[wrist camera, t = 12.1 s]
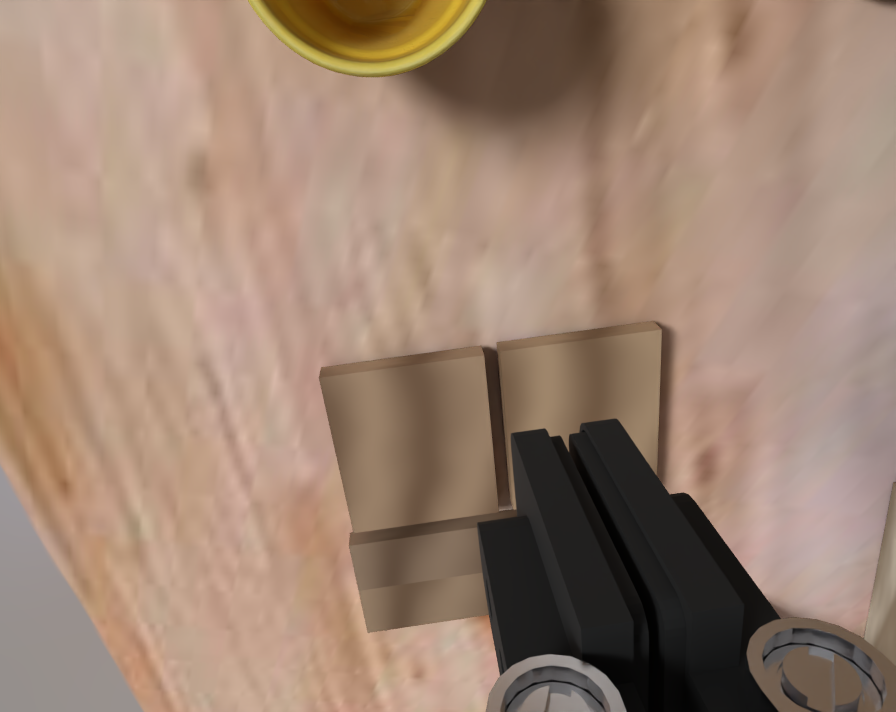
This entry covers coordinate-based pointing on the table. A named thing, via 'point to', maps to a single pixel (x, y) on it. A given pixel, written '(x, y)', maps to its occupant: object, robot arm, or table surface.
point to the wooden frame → (885, 591)
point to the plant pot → (368, 31)
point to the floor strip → (421, 572)
